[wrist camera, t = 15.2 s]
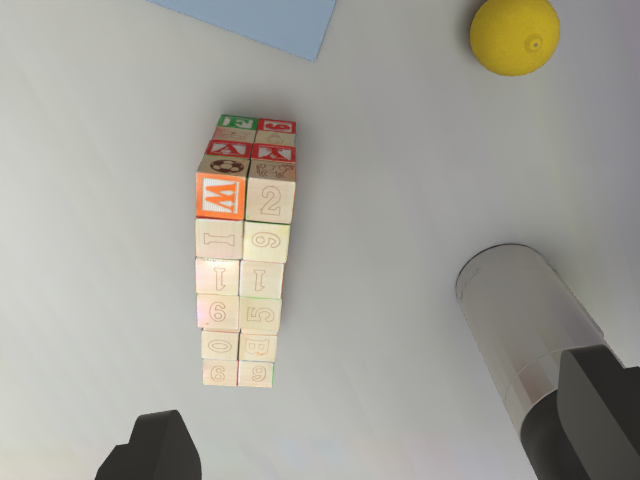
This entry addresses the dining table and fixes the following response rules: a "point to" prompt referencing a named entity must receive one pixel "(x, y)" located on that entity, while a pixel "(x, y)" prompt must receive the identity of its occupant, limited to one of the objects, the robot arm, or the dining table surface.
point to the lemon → (514, 35)
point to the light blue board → (265, 20)
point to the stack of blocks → (243, 246)
